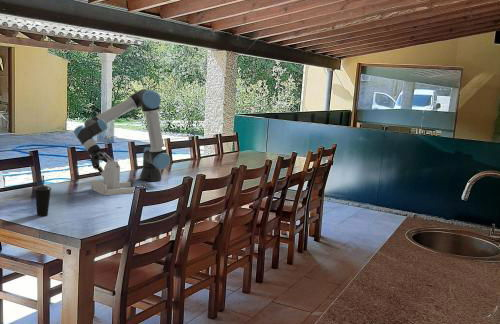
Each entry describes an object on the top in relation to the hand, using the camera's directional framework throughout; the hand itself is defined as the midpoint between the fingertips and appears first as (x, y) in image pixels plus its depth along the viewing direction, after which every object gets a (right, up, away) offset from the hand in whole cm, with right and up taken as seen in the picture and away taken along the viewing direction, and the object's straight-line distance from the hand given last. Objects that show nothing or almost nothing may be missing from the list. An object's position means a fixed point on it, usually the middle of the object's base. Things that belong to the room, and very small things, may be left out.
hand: (111, 174), depth 309 cm
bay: (+3, -10, +5) cm, 12 cm away
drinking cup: (-17, -19, -62) cm, 67 cm away
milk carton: (-1, -10, +2) cm, 11 cm away
